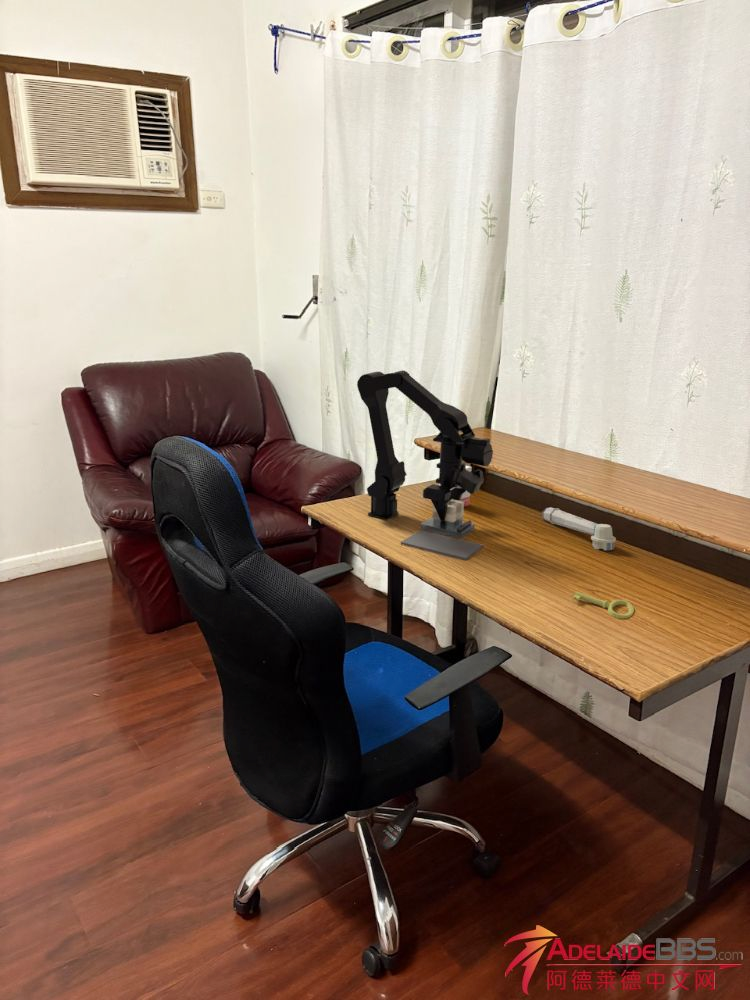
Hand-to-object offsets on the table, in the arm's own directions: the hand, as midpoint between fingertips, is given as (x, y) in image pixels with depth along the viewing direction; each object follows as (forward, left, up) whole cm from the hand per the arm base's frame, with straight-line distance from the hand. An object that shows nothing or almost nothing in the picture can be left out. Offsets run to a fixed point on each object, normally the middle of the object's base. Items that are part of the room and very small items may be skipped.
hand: (448, 516), depth 192 cm
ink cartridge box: (-8, +20, -4) cm, 22 cm away
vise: (0, 0, -4) cm, 4 cm away
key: (+48, -22, -4) cm, 52 cm away
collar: (0, 0, 0) cm, 0 cm away
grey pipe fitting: (+30, +16, -4) cm, 34 cm away
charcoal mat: (+4, -11, -4) cm, 12 cm away
